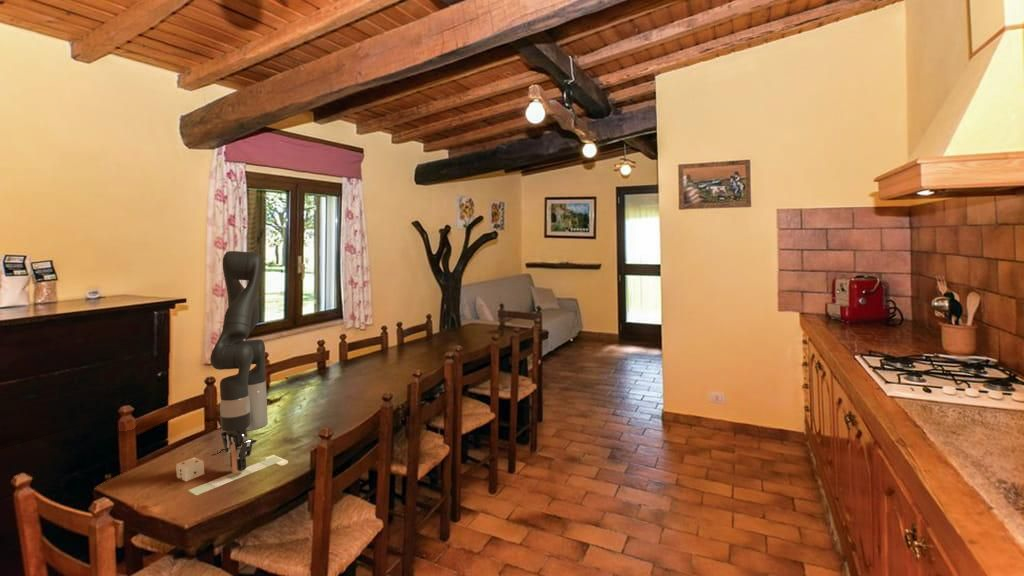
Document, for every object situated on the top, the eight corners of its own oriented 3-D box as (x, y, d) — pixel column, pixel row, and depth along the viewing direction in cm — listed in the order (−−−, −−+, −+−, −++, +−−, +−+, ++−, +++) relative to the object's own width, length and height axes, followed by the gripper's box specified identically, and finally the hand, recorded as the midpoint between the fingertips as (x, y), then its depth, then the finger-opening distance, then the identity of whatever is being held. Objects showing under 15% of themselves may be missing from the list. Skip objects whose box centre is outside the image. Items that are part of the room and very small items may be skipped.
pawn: (229, 471, 136) (228, 441, 135) (241, 466, 139) (239, 437, 138) (235, 474, 134) (234, 444, 134) (247, 469, 137) (246, 440, 136)
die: (176, 480, 135) (175, 463, 134) (195, 473, 139) (194, 456, 139) (185, 485, 132) (184, 467, 132) (204, 477, 137) (203, 460, 136)
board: (182, 492, 128) (182, 489, 128) (273, 457, 150) (273, 454, 150) (196, 501, 124) (196, 498, 124) (287, 463, 146) (287, 460, 146)
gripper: (261, 412, 135) (264, 469, 136) (236, 403, 142) (239, 457, 144) (234, 420, 128) (237, 479, 130) (209, 411, 136) (213, 467, 137)
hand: (238, 467), depth 137 cm, fingers closed on pawn, 3 cm apart
